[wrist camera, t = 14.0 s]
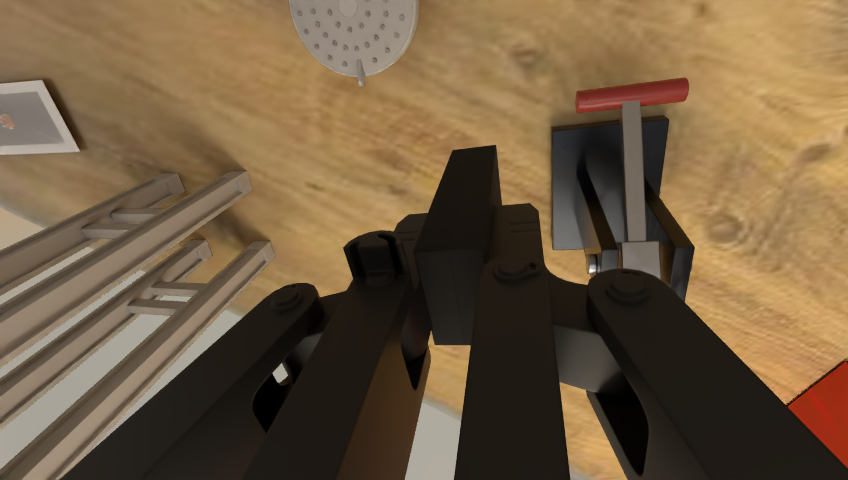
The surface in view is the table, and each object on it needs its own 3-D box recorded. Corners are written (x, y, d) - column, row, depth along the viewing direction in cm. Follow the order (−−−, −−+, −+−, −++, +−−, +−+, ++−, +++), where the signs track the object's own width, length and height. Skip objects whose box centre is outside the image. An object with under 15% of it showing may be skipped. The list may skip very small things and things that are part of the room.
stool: (139, 156, 46) (-528, 427, 17) (257, 152, 43) (-324, 483, 13) (191, 267, 54) (-206, 588, 24) (294, 271, 50) (-22, 650, 21)
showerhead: (304, 93, 31) (262, -67, 26) (339, 78, 37) (311, -54, 32) (422, 80, 29) (400, -97, 24) (439, 66, 35) (424, -77, 30)
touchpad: (88, 148, 47) (71, 154, 45) (-5, 152, 51) (-25, 158, 49) (51, 78, 43) (31, 81, 42) (-47, 87, 47) (-70, 90, 45)
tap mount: (550, 127, 35) (567, 194, 23) (664, 114, 33) (751, 183, 21) (551, 243, 41) (565, 348, 29) (648, 240, 39) (709, 352, 26)
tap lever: (574, 98, 28) (578, 85, 26) (677, 85, 27) (691, 70, 24) (581, 282, 28) (586, 286, 26) (686, 282, 26) (701, 285, 24)
